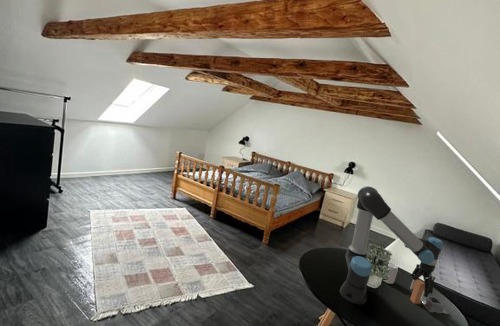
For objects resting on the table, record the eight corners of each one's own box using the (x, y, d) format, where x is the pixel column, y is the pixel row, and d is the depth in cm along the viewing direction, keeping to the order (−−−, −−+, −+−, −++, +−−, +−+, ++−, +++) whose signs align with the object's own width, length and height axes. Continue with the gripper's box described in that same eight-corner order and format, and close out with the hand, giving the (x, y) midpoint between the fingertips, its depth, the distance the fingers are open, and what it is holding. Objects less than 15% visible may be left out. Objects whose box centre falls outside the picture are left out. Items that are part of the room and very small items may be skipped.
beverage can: (380, 281, 191) (385, 265, 189) (381, 275, 198) (386, 260, 196) (393, 286, 188) (398, 270, 185) (393, 280, 195) (398, 265, 192)
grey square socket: (429, 311, 167) (431, 305, 167) (417, 298, 179) (419, 292, 178) (448, 314, 168) (450, 308, 167) (434, 300, 180) (436, 294, 179)
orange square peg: (413, 303, 173) (420, 283, 170) (410, 298, 177) (416, 279, 174) (419, 304, 173) (426, 284, 170) (415, 299, 177) (422, 280, 174)
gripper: (447, 274, 159) (435, 308, 163) (422, 253, 180) (412, 283, 185) (435, 272, 158) (423, 306, 163) (411, 251, 180) (401, 282, 185)
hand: (417, 294), depth 174 cm, fingers open, 10 cm apart
